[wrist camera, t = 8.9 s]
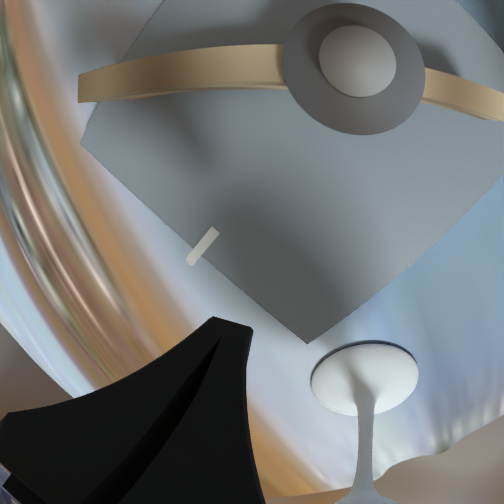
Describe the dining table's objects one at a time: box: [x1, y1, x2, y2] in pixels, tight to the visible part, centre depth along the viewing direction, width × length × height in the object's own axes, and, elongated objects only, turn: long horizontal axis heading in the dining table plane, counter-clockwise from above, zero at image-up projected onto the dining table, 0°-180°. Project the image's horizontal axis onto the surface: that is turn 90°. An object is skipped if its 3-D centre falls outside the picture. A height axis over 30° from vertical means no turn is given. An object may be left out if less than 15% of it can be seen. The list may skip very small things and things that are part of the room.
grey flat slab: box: [80, 0, 504, 344], centre depth 14 cm, size 20×22×2 cm
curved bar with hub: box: [78, 3, 504, 135], centre depth 10 cm, size 19×5×5 cm, turn 89°
